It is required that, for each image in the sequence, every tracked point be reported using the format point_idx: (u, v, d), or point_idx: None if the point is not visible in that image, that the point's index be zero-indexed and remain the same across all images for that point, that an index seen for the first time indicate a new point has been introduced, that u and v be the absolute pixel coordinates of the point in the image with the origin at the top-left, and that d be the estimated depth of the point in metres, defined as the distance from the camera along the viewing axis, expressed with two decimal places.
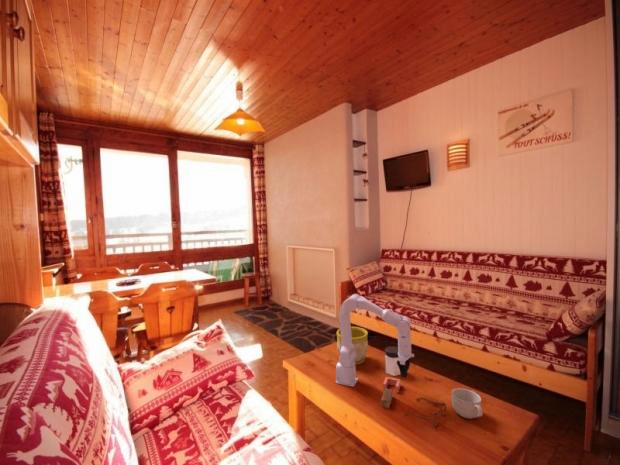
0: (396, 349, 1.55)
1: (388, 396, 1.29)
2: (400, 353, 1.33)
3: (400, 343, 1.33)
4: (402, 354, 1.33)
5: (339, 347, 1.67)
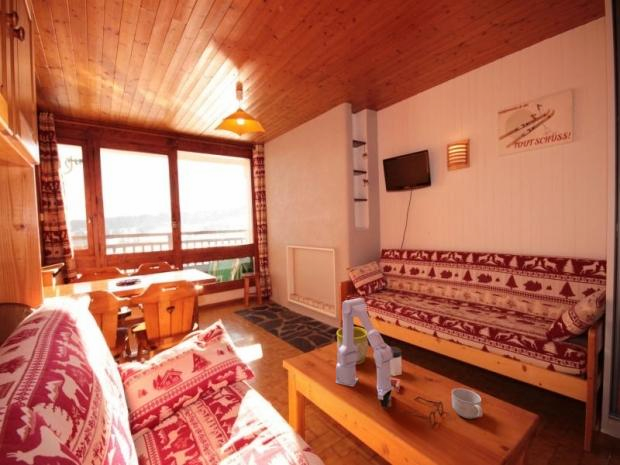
0: (396, 349, 1.55)
1: None
2: (379, 385, 1.24)
3: (377, 373, 1.25)
4: (381, 387, 1.23)
5: (339, 347, 1.67)
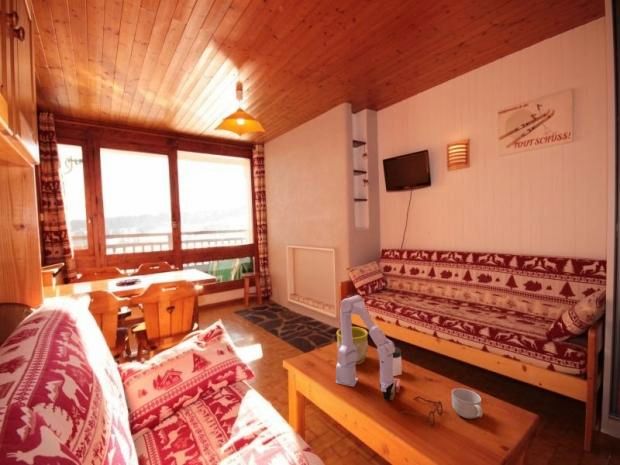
0: (396, 349, 1.55)
1: (392, 388, 1.34)
2: (382, 379, 1.29)
3: (380, 367, 1.30)
4: (384, 380, 1.28)
5: (339, 347, 1.67)
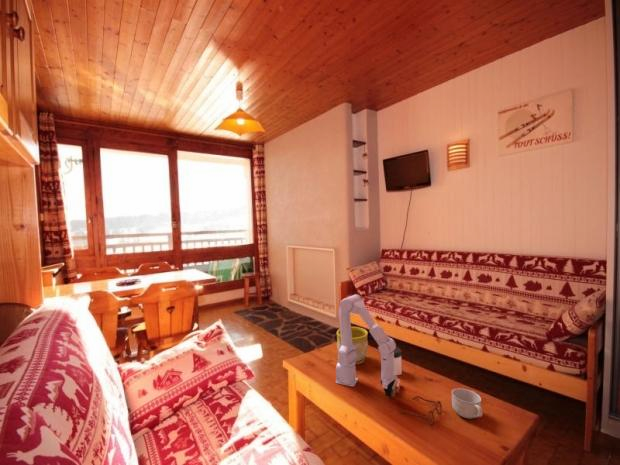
0: (396, 349, 1.55)
1: (393, 385, 1.37)
2: (383, 376, 1.32)
3: (382, 365, 1.32)
4: (385, 377, 1.31)
5: (339, 347, 1.67)
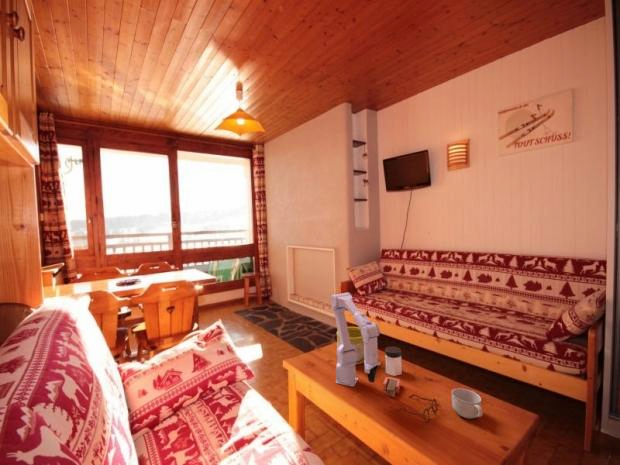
0: (396, 349, 1.55)
1: (393, 386, 1.37)
2: (366, 361, 1.28)
3: (364, 349, 1.30)
4: (368, 362, 1.28)
5: None
